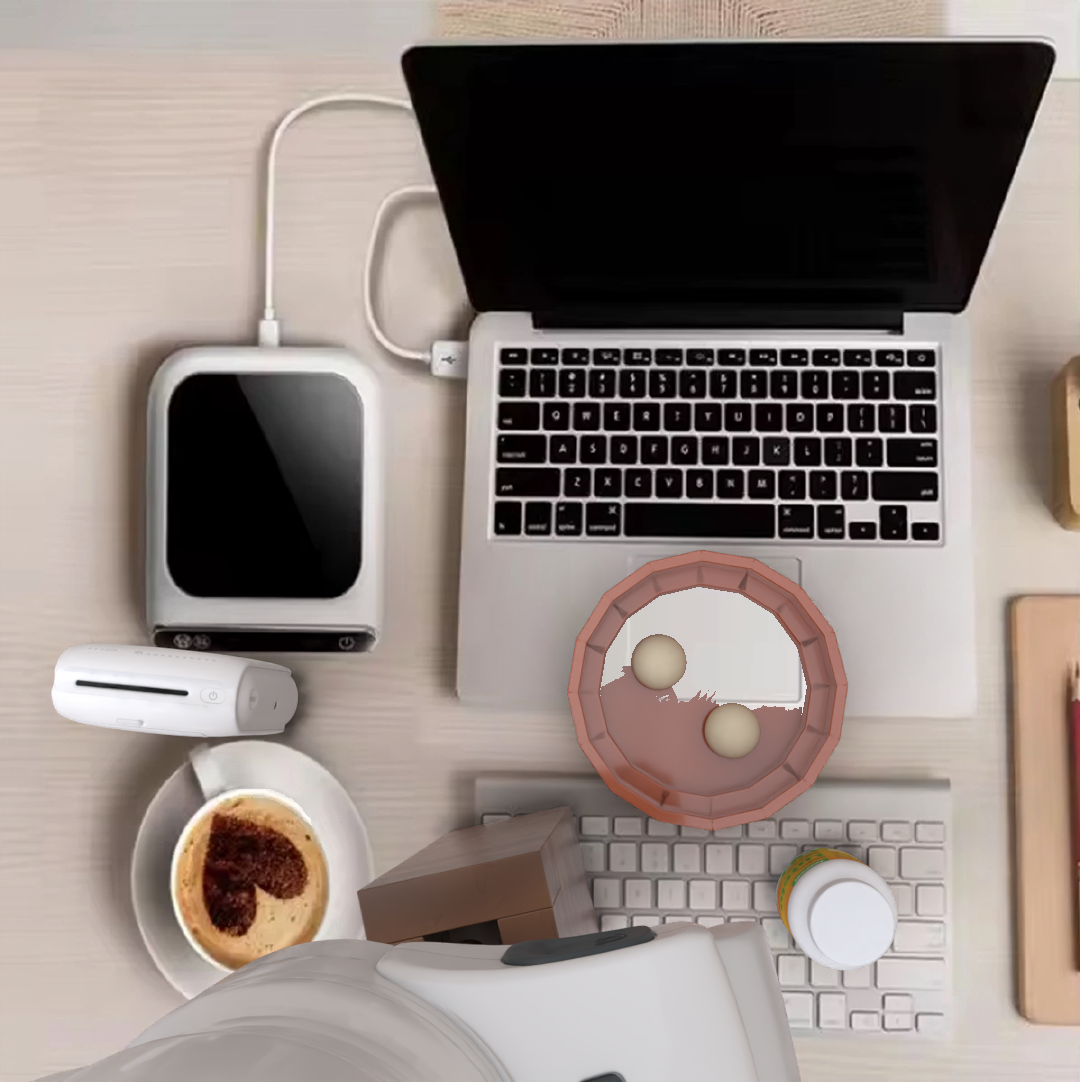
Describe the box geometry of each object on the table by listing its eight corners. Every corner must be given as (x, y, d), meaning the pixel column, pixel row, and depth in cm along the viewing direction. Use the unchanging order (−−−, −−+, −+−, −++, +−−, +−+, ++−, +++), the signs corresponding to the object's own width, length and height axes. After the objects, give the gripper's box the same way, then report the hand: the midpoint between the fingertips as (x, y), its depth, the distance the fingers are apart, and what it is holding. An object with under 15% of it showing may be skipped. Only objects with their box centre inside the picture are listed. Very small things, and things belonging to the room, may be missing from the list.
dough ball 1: (691, 683, 77) (693, 682, 74) (638, 695, 77) (638, 694, 74) (678, 630, 78) (680, 627, 75) (625, 642, 78) (625, 639, 75)
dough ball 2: (764, 751, 76) (769, 753, 73) (710, 763, 77) (713, 765, 74) (750, 697, 77) (755, 697, 74) (697, 709, 77) (700, 709, 74)
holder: (599, 931, 76) (582, 1042, 51) (474, 958, 77) (395, 1083, 51) (570, 804, 77) (539, 850, 52) (448, 831, 78) (356, 891, 52)
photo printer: (305, 663, 79) (245, 653, 67) (296, 739, 79) (234, 744, 67) (129, 646, 80) (38, 633, 68) (119, 721, 80) (26, 722, 67)
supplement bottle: (806, 827, 76) (831, 844, 67) (893, 879, 76) (931, 904, 66) (756, 913, 76) (774, 942, 66) (843, 967, 75) (874, 1004, 66)
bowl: (859, 788, 76) (876, 794, 71) (606, 845, 77) (603, 855, 71) (795, 537, 78) (807, 524, 73) (549, 595, 79) (542, 586, 73)
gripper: (-152, 1453, 28) (108, 1209, 41) (864, 1238, 27) (786, 1062, 41) (-199, 1126, 28) (71, 993, 42) (784, 909, 28) (734, 846, 41)
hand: (427, 1026), depth 41 cm, fingers closed
